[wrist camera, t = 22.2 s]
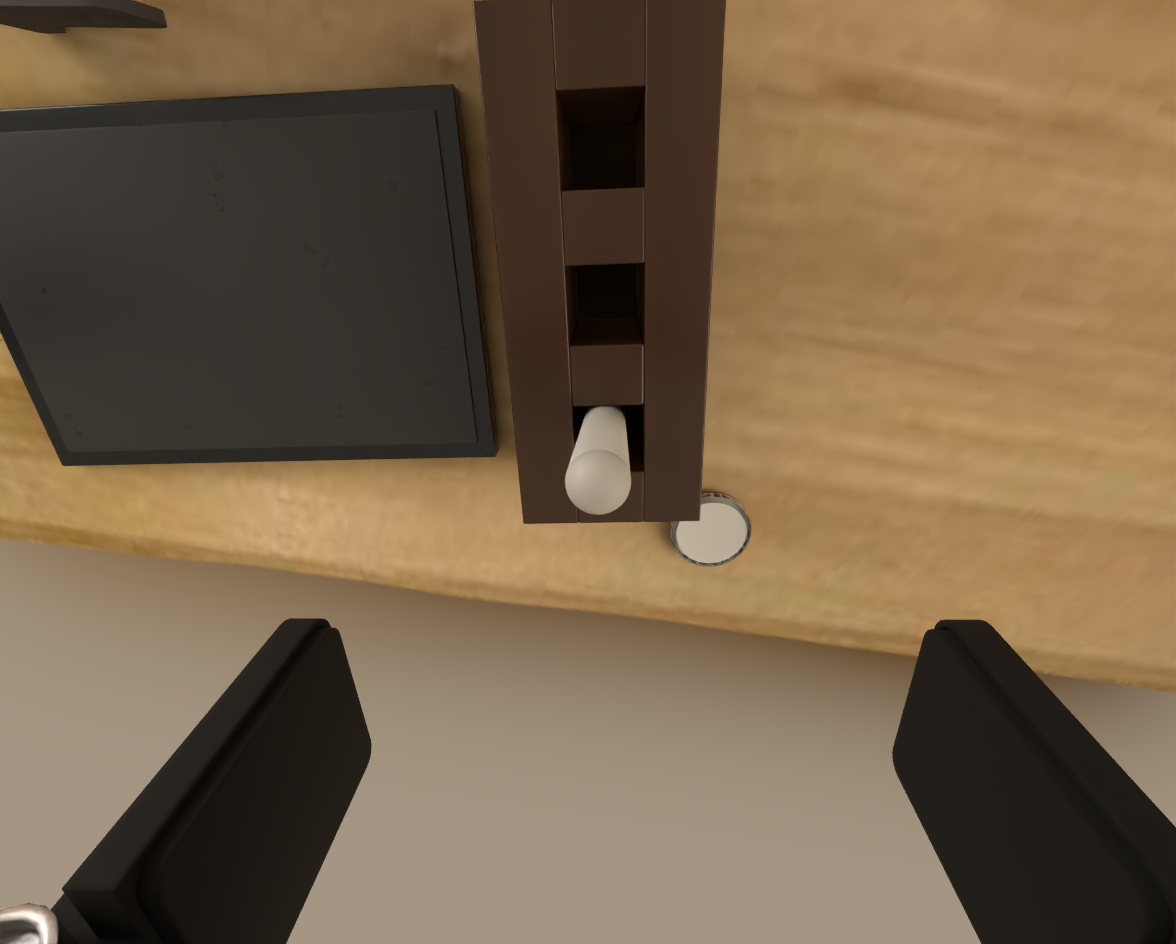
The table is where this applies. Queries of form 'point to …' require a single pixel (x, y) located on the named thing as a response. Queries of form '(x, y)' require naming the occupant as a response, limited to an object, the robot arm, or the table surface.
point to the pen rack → (605, 235)
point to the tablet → (246, 278)
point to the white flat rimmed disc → (713, 532)
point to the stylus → (600, 462)
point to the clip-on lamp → (79, 14)
